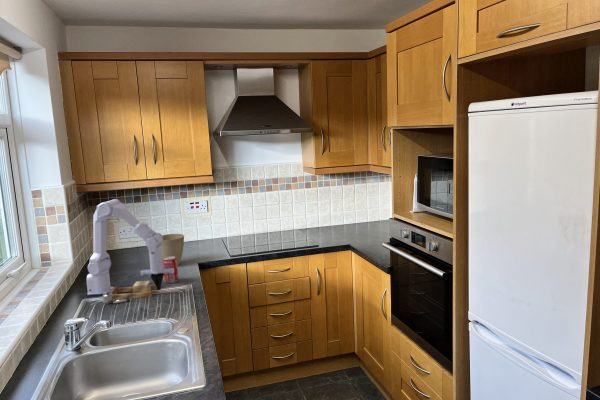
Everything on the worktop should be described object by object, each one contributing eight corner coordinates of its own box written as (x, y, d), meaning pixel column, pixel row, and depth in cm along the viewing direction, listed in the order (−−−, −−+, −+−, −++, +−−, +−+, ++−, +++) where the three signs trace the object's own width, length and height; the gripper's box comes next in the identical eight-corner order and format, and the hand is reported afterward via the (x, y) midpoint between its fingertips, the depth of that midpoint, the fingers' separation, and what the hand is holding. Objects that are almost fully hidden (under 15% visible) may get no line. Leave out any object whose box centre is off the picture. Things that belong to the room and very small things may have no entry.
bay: (109, 299, 200) (108, 293, 200) (116, 291, 210) (115, 285, 210) (151, 297, 202) (150, 290, 201) (156, 289, 212) (155, 283, 211)
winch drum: (102, 304, 195) (101, 293, 194) (105, 300, 199) (104, 290, 198) (111, 303, 196) (110, 293, 195) (114, 300, 200) (113, 289, 199)
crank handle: (113, 304, 195) (112, 298, 195) (113, 303, 196) (112, 297, 196) (129, 301, 198) (129, 296, 197) (129, 300, 199) (129, 295, 199)
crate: (133, 296, 203) (132, 286, 202) (137, 291, 209) (136, 281, 208) (147, 295, 203) (146, 285, 203) (151, 291, 210) (150, 280, 209)
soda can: (172, 278, 227) (170, 255, 225) (181, 280, 222) (179, 257, 220) (160, 282, 221) (158, 258, 220) (169, 284, 217) (167, 260, 215)
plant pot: (188, 260, 258) (186, 232, 255) (183, 268, 243) (181, 239, 240) (161, 261, 257) (159, 234, 254) (155, 269, 242) (152, 240, 239)
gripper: (137, 264, 200) (140, 293, 202) (171, 262, 201) (173, 291, 203) (141, 259, 207) (144, 288, 209) (174, 257, 208) (176, 285, 210)
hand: (159, 289), depth 207 cm, fingers closed
